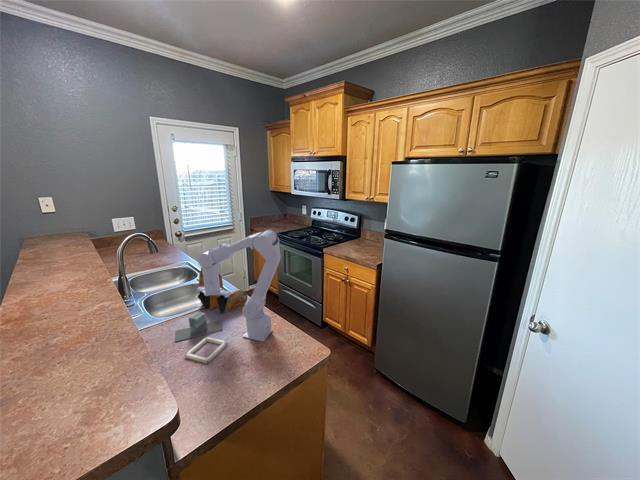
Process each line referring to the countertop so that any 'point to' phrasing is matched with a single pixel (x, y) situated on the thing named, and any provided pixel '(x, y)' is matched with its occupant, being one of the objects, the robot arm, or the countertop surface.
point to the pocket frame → (199, 358)
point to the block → (197, 322)
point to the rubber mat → (187, 334)
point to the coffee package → (212, 297)
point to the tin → (235, 301)
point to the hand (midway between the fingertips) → (215, 310)
